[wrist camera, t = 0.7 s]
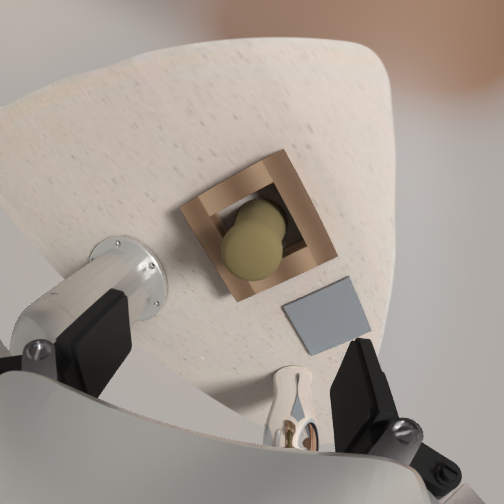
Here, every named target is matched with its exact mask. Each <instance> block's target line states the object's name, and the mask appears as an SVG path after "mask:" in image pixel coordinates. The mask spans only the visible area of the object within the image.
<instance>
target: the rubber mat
mask: <svg viewBox="0 0 504 504" xmlns="http://www.w3.org/2000/svg"><path fill="white" fill-rule="evenodd" d="M283 308H284V309H285V311H286V313H287V314H288V316H289V318H290V320H291V321H292V323H293V325H294V327H295V328H296V330H297V332H298V334H299V335H300V337H301V339H302V340H303V342H304V344H305V346H306V347H307V349H308V351H309V353H310V354H311V356H313V355H315V354H318V353H320V352H323V351H325V350H328V349H330V348H333V347H335V346H338V345H340V344H343V343H345V342H347V341H350V340H352V339H354V338H356V337H359V336H361V335H363V334H365V333H368V332H370V331H371V329H370V326H369V323H368V321H367V318H366V316H365V313H364V311H363V309H362V306H361V304H360V301H359V299H358V296H357V294H356V292H355V289H354V287H353V285H352V282H351V280H350V278H349V276H347V277H345V278H343V279H341V280H339V281H337V282H335V283H332V284H330V285H328V286H326V287H324V288H322V289H319V290H317V291H315V292H313V293H310V294H308V295H306V296H304V297H301V298H299V299H297V300H295V301H292V302H290V303H288V304H285V305H283Z"/></svg>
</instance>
